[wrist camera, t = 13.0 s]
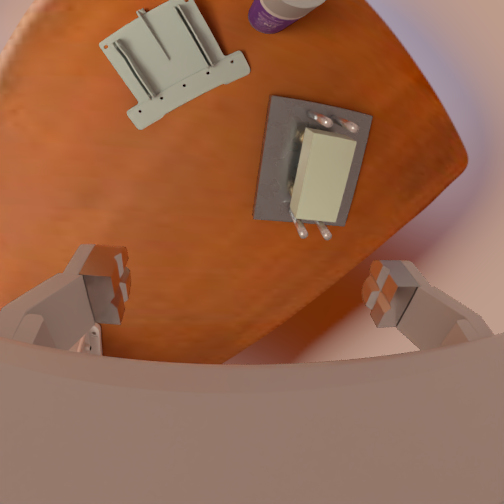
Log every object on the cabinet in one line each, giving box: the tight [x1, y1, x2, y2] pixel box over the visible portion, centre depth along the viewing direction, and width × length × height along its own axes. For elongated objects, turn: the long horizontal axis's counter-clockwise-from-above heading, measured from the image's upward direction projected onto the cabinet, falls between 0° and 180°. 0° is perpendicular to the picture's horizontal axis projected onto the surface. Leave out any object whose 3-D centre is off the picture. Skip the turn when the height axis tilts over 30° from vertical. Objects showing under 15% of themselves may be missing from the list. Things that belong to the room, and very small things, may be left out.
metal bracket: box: [99, 0, 250, 130], centre depth 28 cm, size 14×6×15 cm
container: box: [248, 0, 326, 34], centre depth 21 cm, size 5×5×15 cm
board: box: [290, 127, 357, 222], centre depth 33 cm, size 10×5×3 cm, turn 172°
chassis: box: [252, 95, 373, 240], centre depth 35 cm, size 16×13×8 cm
